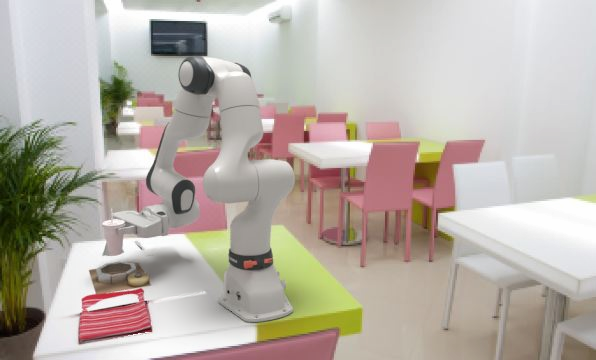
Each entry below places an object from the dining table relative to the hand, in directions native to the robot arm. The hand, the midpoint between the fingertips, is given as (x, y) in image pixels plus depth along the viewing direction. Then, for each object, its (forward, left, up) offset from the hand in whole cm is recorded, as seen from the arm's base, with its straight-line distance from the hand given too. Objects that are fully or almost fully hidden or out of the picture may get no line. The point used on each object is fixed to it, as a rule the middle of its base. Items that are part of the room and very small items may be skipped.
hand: (111, 228), depth 150 cm
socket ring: (0, -1, -15) cm, 15 cm away
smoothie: (0, -1, -8) cm, 8 cm away
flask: (+22, -3, -17) cm, 28 cm away
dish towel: (-24, +3, -17) cm, 29 cm away
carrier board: (-1, -1, -16) cm, 16 cm away
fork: (+26, -13, -17) cm, 34 cm away
